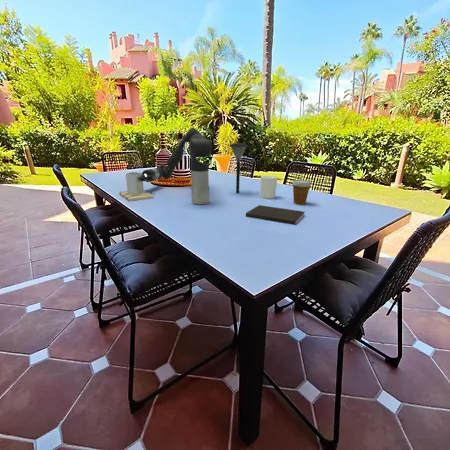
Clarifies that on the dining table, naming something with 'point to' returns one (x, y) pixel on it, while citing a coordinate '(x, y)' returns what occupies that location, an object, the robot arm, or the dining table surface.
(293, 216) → the hardcover book
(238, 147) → the solar garden light
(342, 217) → the dining table surface
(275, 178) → the white paper cup
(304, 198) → the disposable coffee cup
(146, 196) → the base plate
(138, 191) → the sleeve
